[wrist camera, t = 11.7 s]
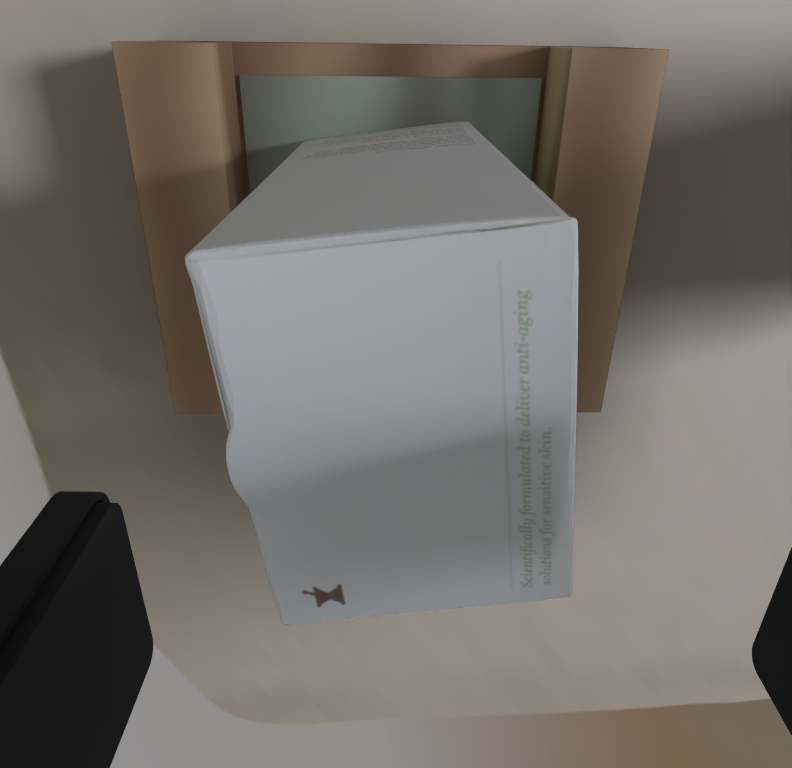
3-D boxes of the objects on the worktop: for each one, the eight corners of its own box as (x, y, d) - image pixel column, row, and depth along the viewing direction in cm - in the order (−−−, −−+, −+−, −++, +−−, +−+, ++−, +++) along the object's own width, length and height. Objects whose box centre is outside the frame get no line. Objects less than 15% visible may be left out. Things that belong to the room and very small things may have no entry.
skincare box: (480, 323, 27) (586, 615, 13) (324, 339, 27) (272, 645, 14) (470, 108, 23) (606, 212, 10) (288, 129, 23) (163, 261, 10)
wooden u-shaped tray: (616, 47, 24) (669, 49, 20) (568, 357, 31) (600, 412, 26) (160, 40, 24) (111, 41, 19) (204, 357, 30) (175, 413, 26)
